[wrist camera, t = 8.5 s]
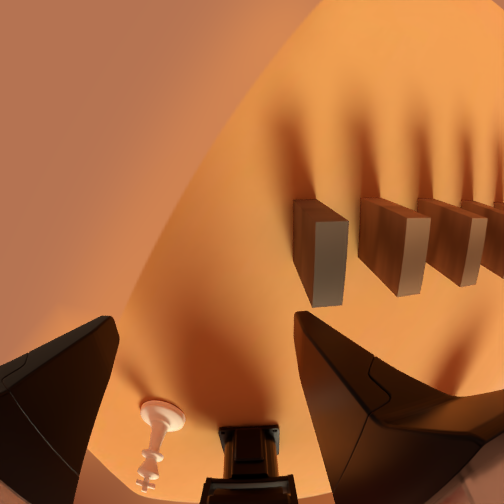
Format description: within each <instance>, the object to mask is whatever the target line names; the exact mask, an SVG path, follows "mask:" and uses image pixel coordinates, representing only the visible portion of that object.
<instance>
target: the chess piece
mask: <svg viewBox="0 0 504 504" xmlns="http://www.w3.org/2000/svg"><path fill="white" fill-rule="evenodd" d="M140 414H141V417H142V419H143V420H144V421H145V422H146V423H147V424H148V425H150V426H151V438H150V445H149V449H144V450H142V455H143V456H144V457H145V458H146V460H145V461H144V462H143V464H142V465H141V466H140V467H139V469H138V470H137V472H138V474H139V475H141V476H142V477H144V481H142V480H138V479H137V481H136V484H137V485H140V486H143V487H142V492H145V493H147V488H151V489H155V484H152V483H149V479H152V480H155V479H158V478H159V473H158V468H157V462H159V461H162V460H163V458H164V457H163V455H162V454H161V453H159V449H160V447H161V444H162V442H163V439H164V437H165V434H166V432H168V431H169V432H171V431H177V430H179V429H181V428H182V427H183V425H184V423H185V415H184V414H183V412H182V411H181V410H180V409H179V408H177V407H176V406H174V405H172V404H170V403H167V402H163V401H157V400H151V401H147V402H145V403H143V404H142V406H141V412H140Z"/></svg>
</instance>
